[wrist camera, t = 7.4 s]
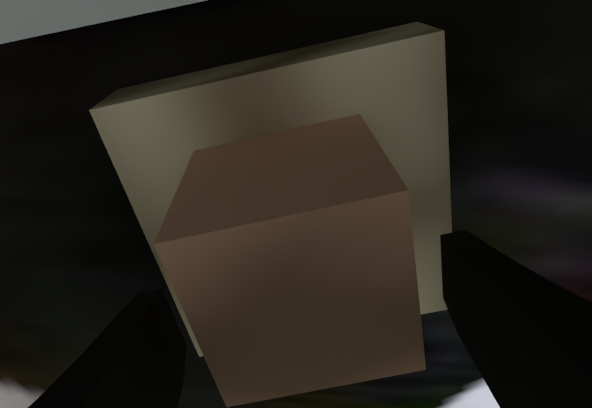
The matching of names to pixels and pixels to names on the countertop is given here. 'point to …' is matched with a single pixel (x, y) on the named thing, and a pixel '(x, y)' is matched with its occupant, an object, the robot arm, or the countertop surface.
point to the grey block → (69, 14)
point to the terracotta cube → (295, 261)
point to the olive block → (296, 125)
